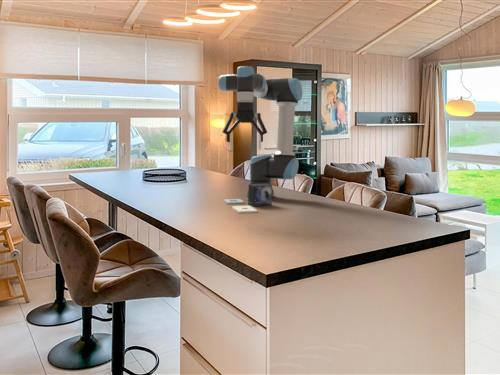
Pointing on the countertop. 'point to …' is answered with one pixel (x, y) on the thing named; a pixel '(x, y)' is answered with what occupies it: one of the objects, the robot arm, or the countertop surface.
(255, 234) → the countertop surface
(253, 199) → the small box
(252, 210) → the pad
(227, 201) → the pad
